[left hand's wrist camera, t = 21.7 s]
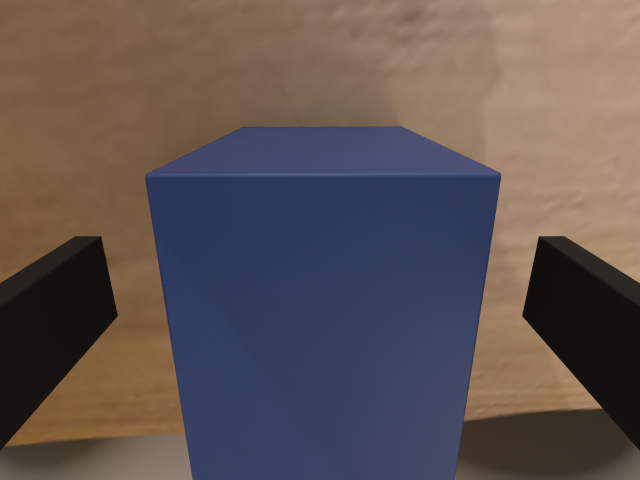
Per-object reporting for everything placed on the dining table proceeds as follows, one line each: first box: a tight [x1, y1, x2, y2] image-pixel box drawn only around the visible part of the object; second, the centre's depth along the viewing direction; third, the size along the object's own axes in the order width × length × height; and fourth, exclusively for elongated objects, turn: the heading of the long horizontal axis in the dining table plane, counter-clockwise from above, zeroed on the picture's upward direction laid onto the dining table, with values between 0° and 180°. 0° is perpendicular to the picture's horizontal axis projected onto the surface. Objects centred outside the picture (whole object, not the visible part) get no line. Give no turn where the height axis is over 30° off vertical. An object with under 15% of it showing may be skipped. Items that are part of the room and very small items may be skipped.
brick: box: [145, 127, 501, 480], centre depth 14 cm, size 7×8×10 cm
